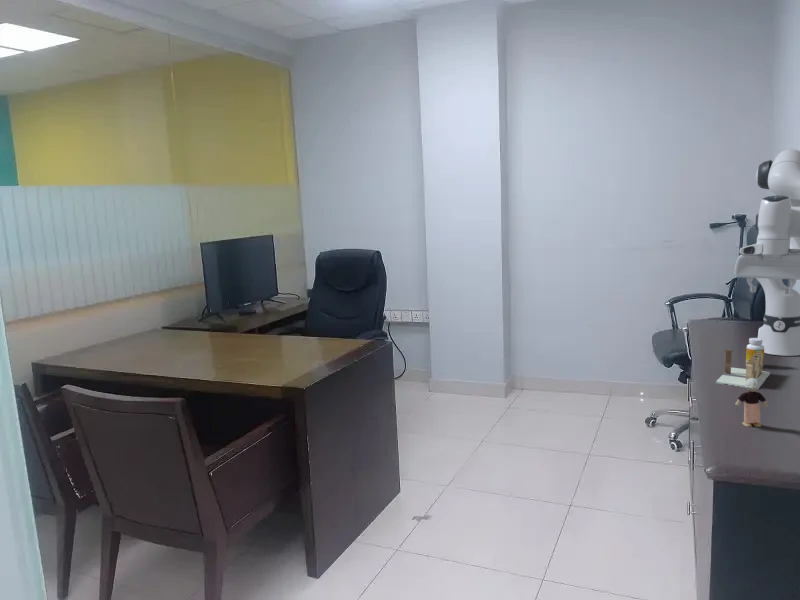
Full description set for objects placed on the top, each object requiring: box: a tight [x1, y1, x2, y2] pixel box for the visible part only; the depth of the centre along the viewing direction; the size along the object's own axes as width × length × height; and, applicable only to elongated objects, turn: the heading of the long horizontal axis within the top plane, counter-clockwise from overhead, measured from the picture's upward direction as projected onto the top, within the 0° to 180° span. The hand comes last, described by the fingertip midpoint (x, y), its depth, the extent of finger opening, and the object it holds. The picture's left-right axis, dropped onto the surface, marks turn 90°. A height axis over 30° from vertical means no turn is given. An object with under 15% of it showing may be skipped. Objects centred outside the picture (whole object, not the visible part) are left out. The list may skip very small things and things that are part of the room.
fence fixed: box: [753, 351, 763, 378], centre depth 200 cm, size 10×2×7 cm, turn 140°
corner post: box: [724, 348, 733, 374], centre depth 203 cm, size 2×2×8 cm
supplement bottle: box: [745, 337, 765, 368], centre depth 212 cm, size 5×5×10 cm
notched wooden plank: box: [745, 358, 757, 381], centre depth 193 cm, size 8×2×7 cm, turn 140°
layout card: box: [715, 366, 771, 390], centre depth 199 cm, size 20×12×1 cm, turn 140°
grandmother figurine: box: [734, 378, 769, 428], centre depth 159 cm, size 8×4×13 cm, turn 92°
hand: (770, 293), depth 190 cm, fingers open, 8 cm apart
